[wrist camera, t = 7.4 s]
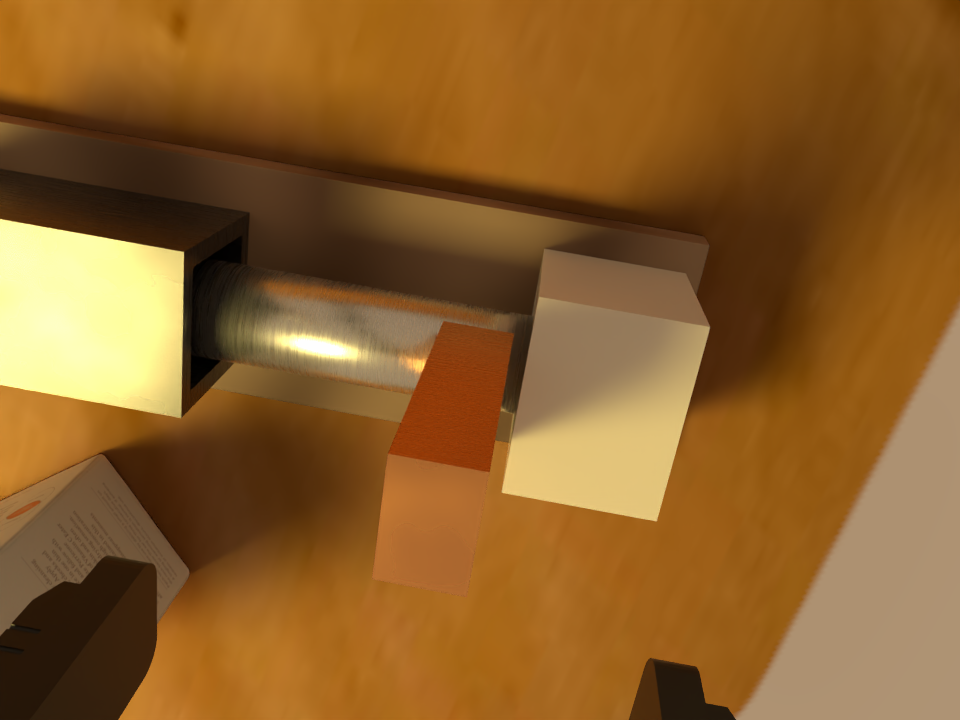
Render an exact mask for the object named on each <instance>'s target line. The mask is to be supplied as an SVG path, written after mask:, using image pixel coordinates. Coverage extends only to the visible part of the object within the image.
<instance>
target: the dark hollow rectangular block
mask: <svg viewBox="0 0 960 720" xmlns="http://www.w3.org/2000/svg"><path fill="white" fill-rule="evenodd" d="M249 216H250V212H245V211H239V210H233V209H228V208H222V207H216V206H211V205H205V204H199V203H194V202H188V201H182V200H176V199H171V198H165V197H159V196H154V195H148V194H142V193H137V192H131V191H125V190H120V189H114V188H108V187H103V186H97V185H91V184H86V183H80V182H74V181H68V180H63V179H57V178H51V177H46V176H40V175H34V174H29V173H23V172H17V171H12V170H6V169H0V385H5V386H11V387H16V388H21V389H27V390H32V391H38V392H43V393H49V394H54V395H59V396H65V397H70V398H76V399H81V400H86V401H92V402H97V403H103V404H108V405H114V406H119V407H124V408H130V409H135V410H141V411H146V412H151V413H157V414H162V415H168V416H173V417H179V418H182V417H183V416H184V415H185V414H186V413H187V411H188V410H189V409H190V408H191V407H192V406H193V405H194V404H195V403H196V402H197V401H198V400H199V399H200V398H201V397H202V396H203V395H204V394H205V393H206V392H207V391H208V390H209V389H210V388H211V387H212V386H213V385H214V384H215V383H216V382H217V381H218V380H219V379H220V378H221V377H222V376H223V375H224V374H225V372H226V371H227V370H228V369H229V368H230V367H231V366H232V365H233V364H234V363H232V362H227V361H221V360H216V359H210V358H205V357H199V356H194V355H191V329H192V283H193V267H194V266H196V265H197V264H199V263H200V262H202V261H203V260H205V259H206V258H209V259H215V260H221V261H226V262H232V263H238V264H243V265H247V259H248V238H249Z"/></svg>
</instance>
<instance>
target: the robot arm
mask: <svg viewBox="0 0 960 720" xmlns="http://www.w3.org/2000/svg"><path fill="white" fill-rule="evenodd" d="M156 641H157V570H156V567H155V565H154V564H152V563H148V562H142V561H137V560H132V559H126V558H121V557H116V556H110V555H107V556H105V557H103V558H102V559H101V560H100V561H99V562H98V563H97V564H96V566H95V567H94V568H93V569H92V570H91V572H90V573H89V574H88V575H87V576H86V578H85V579H84V580H83V581H82V582H81V583H80V584H78V583H73V582H67V581H63V582H62V583H60V584H58V585H57V586H55V587H53V588H52V589H50V590H48V591H46V592H45V593H43V594H41V595H40V596H38V597H36V598H35V599H33V600H32V601H31V602H30V603H29V604H28V605H27V607H26V608H25V609H24V610H23V611H22V612H21V613H20V614H19V615H18V617H17V618H16V619H15V620H14V621H13V622H12V623H11V626H10V628H9V629H6V630H5V631H4V632H3V633H2V634H1V635H0V720H118V719H119V718H120V716H121V714H122V713H123V711H124V710H125V708H126V706H127V705H128V703H129V702H130V700H131V698H132V697H133V695H134V694H135V692H136V690H137V689H138V687H139V686H140V684H141V682H142V681H143V679H144V677H145V676H146V674H147V672H148V669H149V667H150V665H151V662H152V659H153V656H154V652H155V647H156ZM629 720H736V719H735V718H734V716H733V715H732V713H731V712H730V711H729V709H728V708H727V707H723V706H717V705H712V704H707V703H705V698H704V693H703V688H702V683H701V678H700V674H699V671H698V669H697V667H695V666H690V665H685V664H679V663H674V662H669V661H663V660H658V659H652V658H650V659H648V661H647V663H646V665H645V668H644V671H643V674H642V678H641V681H640V684H639V688H638V691H637V694H636V698H635V701H634V704H633V708H632V711H631V714H630V718H629Z"/></svg>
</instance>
